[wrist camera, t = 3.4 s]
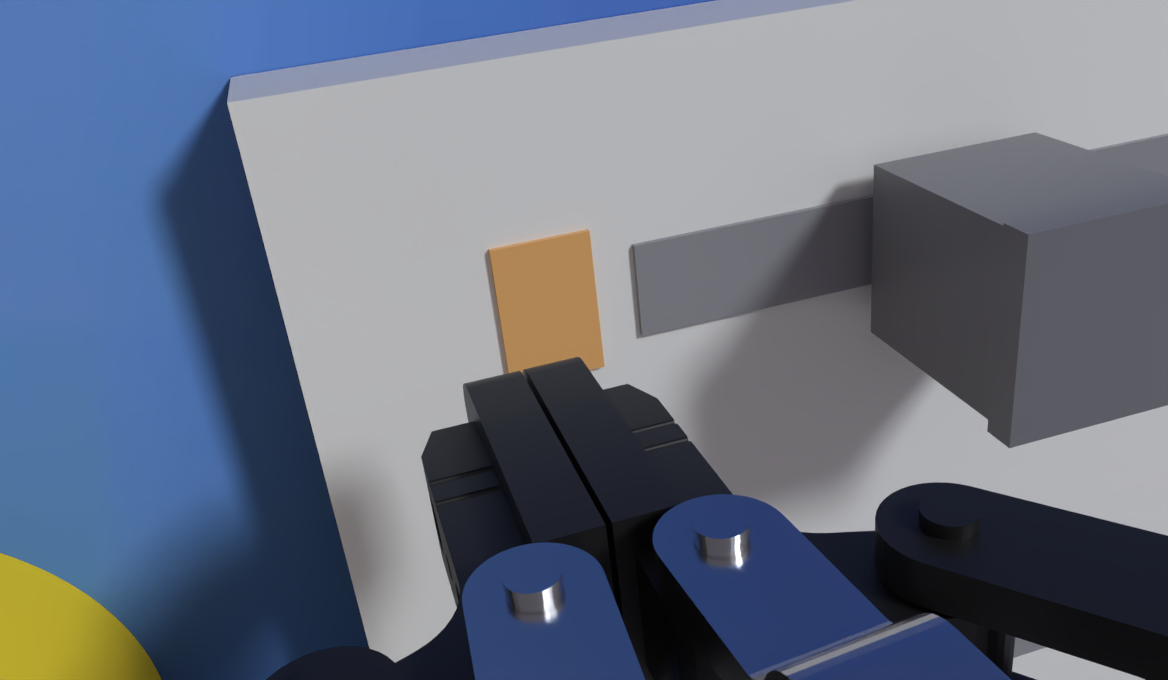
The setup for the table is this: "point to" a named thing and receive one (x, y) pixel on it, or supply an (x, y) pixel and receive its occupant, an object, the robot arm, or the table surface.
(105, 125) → the table surface
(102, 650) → the tape roll
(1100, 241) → the handle
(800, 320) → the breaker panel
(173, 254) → the table surface
